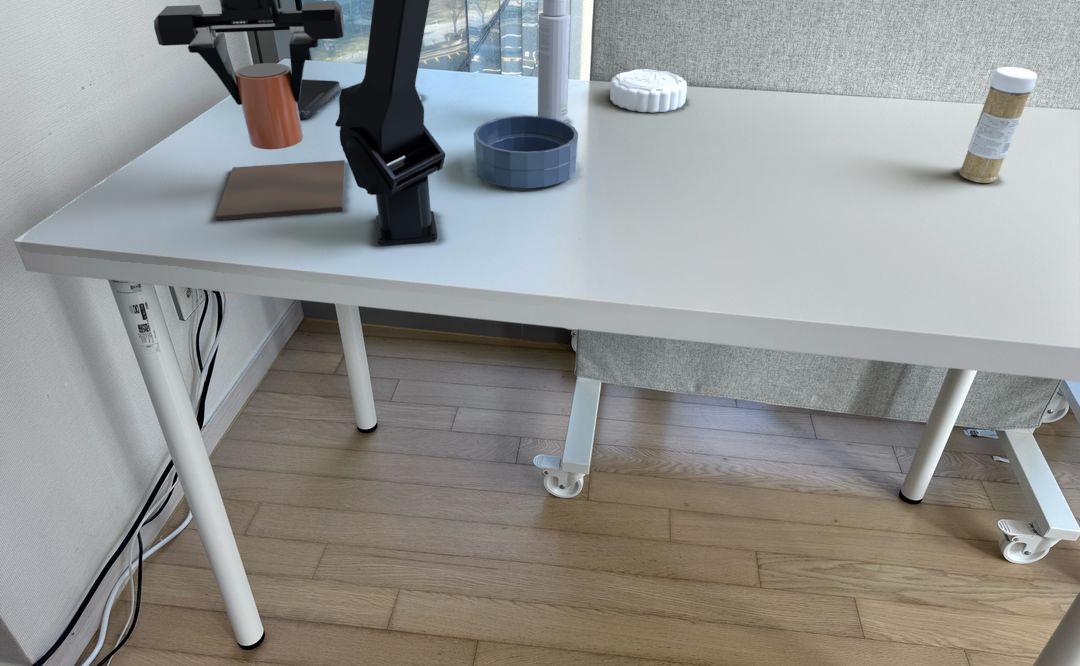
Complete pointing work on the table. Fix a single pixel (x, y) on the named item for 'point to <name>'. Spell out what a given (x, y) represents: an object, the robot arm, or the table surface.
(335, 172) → the coaster board
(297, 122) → the cup
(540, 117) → the bowl
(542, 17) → the bottle
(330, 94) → the phone
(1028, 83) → the sprinkles bottle
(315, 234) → the table surface
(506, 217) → the table surface
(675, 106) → the mooncake
